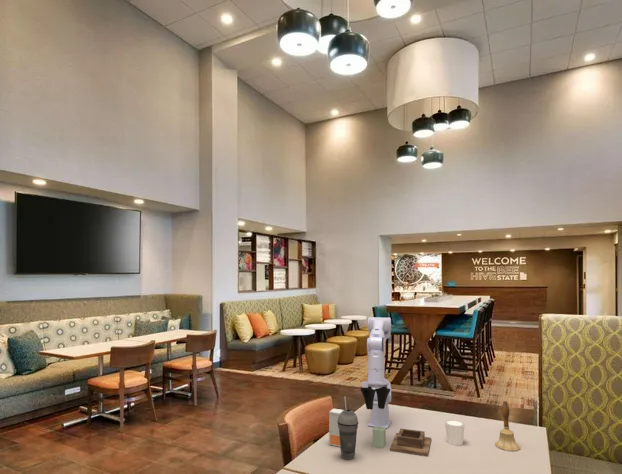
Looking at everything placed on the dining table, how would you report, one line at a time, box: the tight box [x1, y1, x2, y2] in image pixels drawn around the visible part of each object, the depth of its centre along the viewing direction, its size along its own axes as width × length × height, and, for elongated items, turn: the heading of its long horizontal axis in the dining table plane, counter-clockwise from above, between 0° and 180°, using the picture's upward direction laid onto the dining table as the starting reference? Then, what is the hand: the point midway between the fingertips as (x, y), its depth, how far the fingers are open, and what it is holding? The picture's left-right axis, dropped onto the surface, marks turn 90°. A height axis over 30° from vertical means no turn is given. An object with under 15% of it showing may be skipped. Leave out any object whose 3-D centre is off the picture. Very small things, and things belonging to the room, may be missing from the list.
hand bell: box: [494, 400, 521, 452], centre depth 153 cm, size 8×8×16 cm
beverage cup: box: [337, 395, 359, 461], centre depth 144 cm, size 7×7×20 cm
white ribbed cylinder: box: [444, 419, 465, 446], centre depth 156 cm, size 7×7×7 cm
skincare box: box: [328, 408, 345, 448], centre depth 154 cm, size 6×4×12 cm
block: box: [372, 426, 387, 449], centre depth 153 cm, size 4×4×6 cm
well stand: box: [389, 428, 432, 457], centre depth 153 cm, size 15×13×4 cm
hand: (375, 408), depth 151 cm, fingers open, 7 cm apart
